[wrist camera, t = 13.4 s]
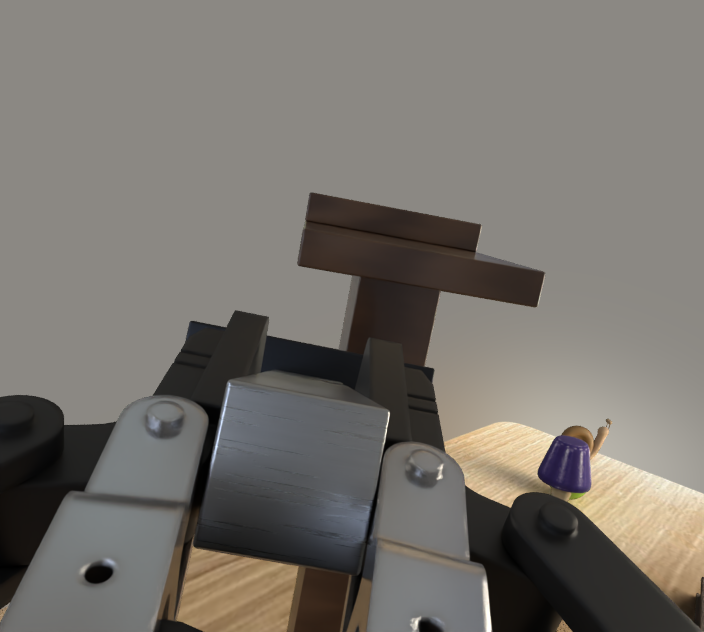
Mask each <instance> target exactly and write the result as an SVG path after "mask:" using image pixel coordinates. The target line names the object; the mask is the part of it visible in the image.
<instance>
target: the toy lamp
mask: <svg viewBox="0 0 704 632" xmlns="http://www.w3.org/2000/svg"><path fill="white" fill-rule="evenodd" d="M538 477H539V478H540V480H542V481H543V482H544V483H546V484H548V485H549V486H551V495H553V496H555V497H558V498H560V499H562V500H564V501H566V502H567V501H568V500H569V498H570V496H571V493H585V492H588V491H589V490H590V488H591V465H590V450H589V446H588V444H587V443H586V442H584V441H583V440H580V439H578V438H575V437H571V436H564V435H561V436H557V437H556V438H555V439H554V441H553V442H552V444H551V446H550V448H549V450H548V451H547V453H546V455H545V457H544V459H543V461H542V463H541V465H540V467H539V469H538Z"/></svg>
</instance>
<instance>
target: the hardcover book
mask: <svg viewBox="0 0 704 632" xmlns="http://www.w3.org/2000/svg"><path fill="white" fill-rule="evenodd" d="M695 624H696V625H697V626H698V627H699V628H700V629H701V630H702V631H703V632H704V577H702V578H701V595H700V594H698V593H697V594H696V608H695Z"/></svg>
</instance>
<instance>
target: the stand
mask: <svg viewBox="0 0 704 632" xmlns="http://www.w3.org/2000/svg"><path fill="white" fill-rule="evenodd" d="M305 220H306V221H305V224H304V228H303V233H302V238H301V244H300V250H299V256H298V262H297V264H298V266H302V267H307V268H313V269H319V270H325V271H330V272H336V273H342V274H347V275H352V280H351V286H350V291H349V297H348V302H347V307H346V313H345V318H344V323H343V329H342V334H341V340H340V345H339V350H343V351H348V352H353V353H358V354H363V355H364V351H365V347H366V344H367V341H368V338H369V337H370V338H375V339H380V340H385V341H390V342H395V343H400V344H402V348H403V358H404V363H409V364H414V365H419V366H424V367H425V363H426V358H427V354H428V349H429V344H430V339H431V335H432V330H433V326H434V320H435V316H436V311H437V306H438V302H439V297H440V292H441V291H444V292H450V293H456V294H461V295H468V296H473V297H478V298H484V299H490V300H495V301H501V302H507V303H513V304H518V305H525V306H530V307H537V306H538V303H539V299H540V295H541V291H542V287H543V283H544V278H545V272H543V271H539V270H536V269H532V268H529V267H525V266H522V265H518V264H515V263H511V262H508V261H504V260H501V259H497V258H494V257H490V256H487V255H483V254H480V253H476V251H477V246H478V242H479V237H480V233H481V228H482V225H481V224H475V223H470V222H465V221H460V220H454V219H448V218H444V217H439V216H433V215H428V214H423V213H417V212H412V211H407V210H401V209H396V208H391V207H386V206H380V205H375V204H370V203H364V202H359V201H354V200H349V199H343V198H338V197H332V196H327V195H322V194H317V193H310V195H309V200H308V206H307V213H306V218H305ZM348 580H349V575H347V574H341V573H335V572H329V571H324V570H318V569H312V568H306V567H301V566H299V567H298V573H297V578H296V584H295V589H294V594H293V600H292V605H291V611H290V616H289V621H288V627H287V632H340V628H341V622H342V616H343V610H344V604H345V598H346V592H347V586H348Z"/></svg>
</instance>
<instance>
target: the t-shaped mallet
mask: <svg viewBox="0 0 704 632" xmlns="http://www.w3.org/2000/svg"><path fill="white" fill-rule="evenodd" d="M206 327H207V328H212V329H217V330H222V331H225V329H226V327H221V326H216V325H211V324H205V323H200V322H196V321H190V323H189V328H188V332H187V337H186V341H187V339H188V338H189V336H191V335H193V334H195V333H197V332H198V331H200V330H202V329H204V328H206ZM186 341H185V343H186ZM362 359H363V354H358V353H353V352H348V351H343V350H338V349H333V348H327V347H322V346H317V345H312V344H307V343H301V342H297V341H292V340H287V339H282V338H277V337H272V336H266V342H265V348H264V354H263V360H262V366H261V372H260V373H258V374H253V375H249V376H244V377H240V378H235V379H231V380H229V381H228V382H227V385H226V389H225V394H224V399H223V403H222V408H221V413H220V417H219V422H218V427H217V432H216V436H215V441H214V446H213V450H212V455H211V460H210V464H209V469H208V474H207V478H206V483H205V488H204V492H203V497H202V502H201V507H200V511H199V516H198V521H197V525H196V530H195V535H194V539H193V546H194V547H195V548H197V549H203V550H209V551H214V552H220V553H226V554H232V555H237V556H243V557H249V558H255V559H260V560H266V561H272V562H278V563H283V564H289V565H295V566H301V567H306V568H312V569H318V570H324V571H329V572H335V573H341V574H347V575H352V576H357V575H359V573H360V572H361V567H362V561H363V556H364V550H365V545H366V540H367V534H368V529H369V524H370V518H371V513H372V507H373V502H374V497H375V491H376V486H377V481H378V475H379V470H380V465H381V459H382V454H383V448H384V443H385V438H386V432H387V427H388V422H389V416H390V413H389V410H387V409H386V408H384V407H382V406H381V405H379V404H377V403H376V402H374V401H372V400H370V399H369V398H367V397H365V396H363V395H362V394H360V393H358V392H357V391H355V387H356V383H357V379H358V375H359V371H360V367H361V363H362ZM404 367H408V368H413V369H418V370H422V372H423V373H424V374H425V375H426V377H427V378H428V379H429V380H430V382H431V383H432V382H433V377H434V371H435V370H434V369H433V368H429V367H424V366H419V365H414V364H409V363H404Z"/></svg>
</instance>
